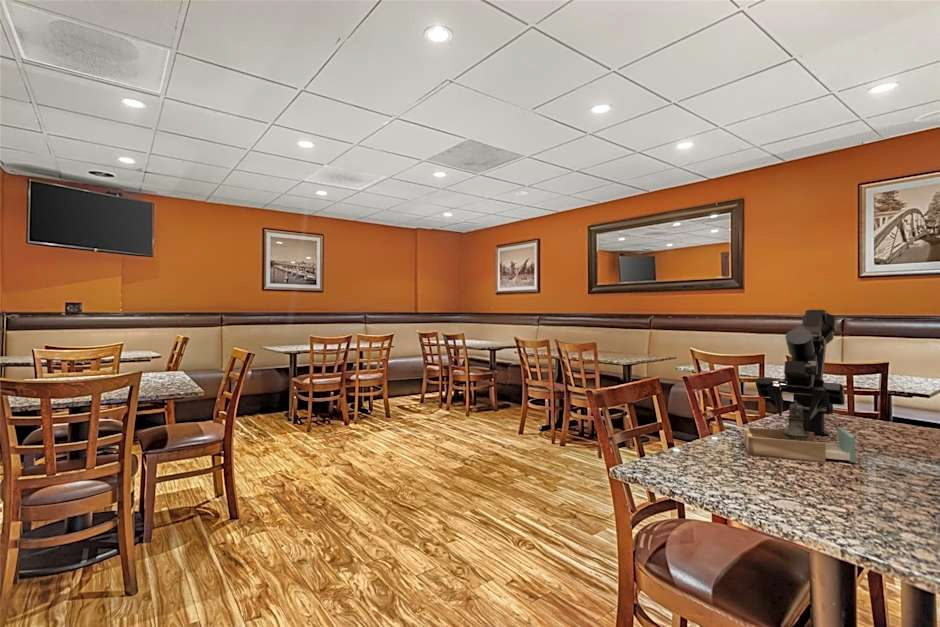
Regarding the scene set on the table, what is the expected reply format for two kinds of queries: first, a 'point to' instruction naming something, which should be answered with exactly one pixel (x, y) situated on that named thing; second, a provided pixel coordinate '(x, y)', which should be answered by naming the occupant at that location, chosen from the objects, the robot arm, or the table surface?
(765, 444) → the dock
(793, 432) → the grey tall tapered piece
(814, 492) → the table surface
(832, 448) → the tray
